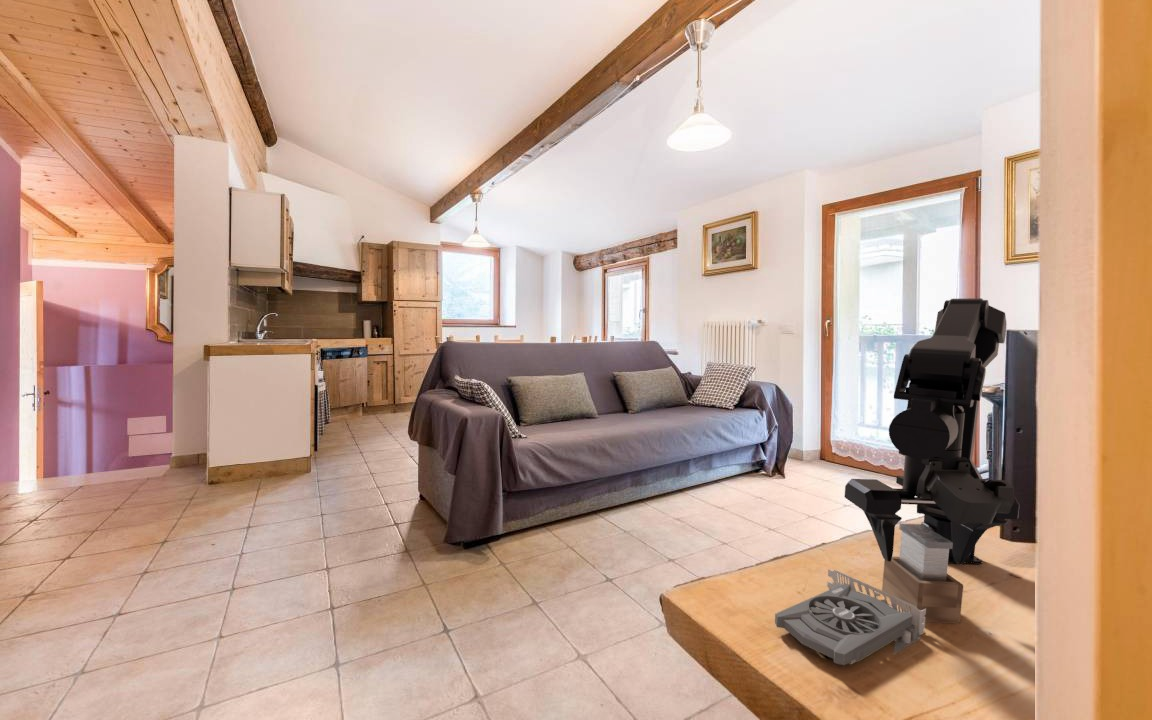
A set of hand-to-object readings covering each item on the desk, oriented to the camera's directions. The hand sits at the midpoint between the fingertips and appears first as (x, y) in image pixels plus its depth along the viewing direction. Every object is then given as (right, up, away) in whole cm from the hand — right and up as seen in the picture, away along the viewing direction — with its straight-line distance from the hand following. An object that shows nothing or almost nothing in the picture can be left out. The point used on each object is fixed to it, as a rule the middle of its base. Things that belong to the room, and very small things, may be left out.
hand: (922, 561), depth 63 cm
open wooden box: (0, -6, 0) cm, 6 cm away
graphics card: (-13, -7, -4) cm, 16 cm away
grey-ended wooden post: (0, -4, 0) cm, 4 cm away
